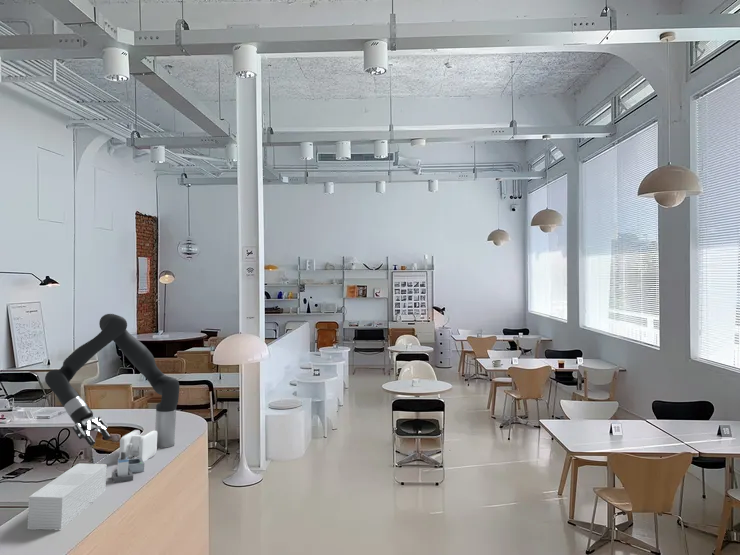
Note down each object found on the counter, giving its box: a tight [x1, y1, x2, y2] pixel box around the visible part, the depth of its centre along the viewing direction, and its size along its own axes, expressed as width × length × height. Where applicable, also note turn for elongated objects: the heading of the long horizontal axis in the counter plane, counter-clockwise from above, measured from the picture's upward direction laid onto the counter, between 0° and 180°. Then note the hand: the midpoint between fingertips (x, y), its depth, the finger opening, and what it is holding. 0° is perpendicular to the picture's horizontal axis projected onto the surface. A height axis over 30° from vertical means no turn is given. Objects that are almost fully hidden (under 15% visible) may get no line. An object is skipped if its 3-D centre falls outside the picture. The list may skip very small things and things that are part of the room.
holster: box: [111, 470, 134, 484], centre depth 223 cm, size 7×7×2 cm
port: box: [128, 457, 145, 474], centre depth 233 cm, size 8×8×4 cm
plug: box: [116, 452, 129, 477], centre depth 223 cm, size 4×4×10 cm
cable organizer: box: [119, 429, 158, 463], centre depth 248 cm, size 15×11×12 cm
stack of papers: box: [27, 462, 108, 530], centre depth 194 cm, size 32×11×11 cm, turn 2°
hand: (101, 441), depth 225 cm, fingers open, 8 cm apart
